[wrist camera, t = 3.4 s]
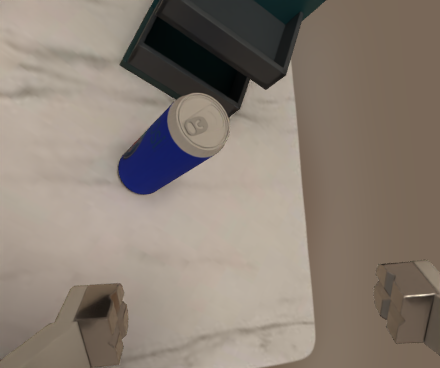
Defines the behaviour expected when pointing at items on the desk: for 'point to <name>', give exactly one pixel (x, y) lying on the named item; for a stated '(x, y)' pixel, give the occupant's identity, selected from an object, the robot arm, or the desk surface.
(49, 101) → the desk surface
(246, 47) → the fridge door rack
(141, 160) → the beverage can
